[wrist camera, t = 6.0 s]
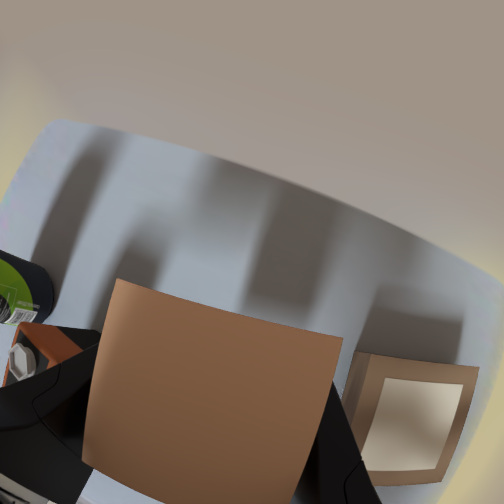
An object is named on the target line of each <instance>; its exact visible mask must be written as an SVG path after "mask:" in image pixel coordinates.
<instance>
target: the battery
mask: <svg viewBox="0 0 504 504" xmlns="http://www.w3.org/2000/svg"><path fill="white" fill-rule="evenodd" d="M100 339H101V334H100V333H99V332H97V331H96V330H88V329H78V328H69V327H61V326H53V325H46V324H39V323H32V322H26V321H22V322H20V323H19V324H18V327H17V330H16V333H15V337H14V340H13V343H12V347H11V349H10V350H9V359H8V363H7V367H6V371H5V376H4V380H3V385H2V387H4V386H7V385H9V384H12V383H15V382H17V381H20V380H23V379H25V378H28V377H30V376H33V375H35V374H38V373H40V372H42V371H44V370H46V369H48V368H50V367H53V366H54V365H56V364H58V363H62V361H64V360H66V359H68V358H70V357H72V356H74V355H76V354H78V353H80V352H82V351H84V350H86V349H87V348H89V347H91V346H93V345H95V344H97V343H99V342H100Z"/></svg>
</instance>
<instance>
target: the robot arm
mask: <svg viewBox="0 0 504 504" xmlns="http://www.w3.org/2000/svg"><path fill="white" fill-rule="evenodd" d="M99 343H100V342H99ZM99 343H97V344H95V345H93V346H91V347H89V348H87V349H86V350H84V351H82V352H80V353H78V354H76V355H74V356H72V357H70V358H68V359H66V360H64V361H62V363H58V364H56V365H54V366H53V367H50V368H48V369H46V370H44V371H42V372H40V373H38V374H35V375H33V376H30V377H28V378H25V379H23V380H20V381H17V382H15V383H12V384H9V385H7V386H4V387H1V388H0V504H47V502H48V501H49V500H50V501H52V502H55V503H57V504H76V502H77V500H78V498H79V496H80V494H81V492H82V490H83V488H84V486H85V485H86V483H87V481H88V479H89V477H90V475H91V473H92V472H93V469H94V468H93V467H91V466H89V465H88V464H86V463H84V462H83V461H82V451H83V440H84V431H85V422H86V415H87V408H88V401H89V395H90V389H91V383H92V377H93V372H94V367H95V362H96V357H97V352H98V348H99ZM289 504H382V503H381V501H380V499H379V497H378V495H377V493H376V490H375V488H374V486H373V484H372V482H371V479H370V477H369V474H368V472H367V469H366V466H365V464H364V461H363V460H362V456H361V453H360V450H359V448H358V445H357V442H356V440H355V437H354V434H353V432H352V429H351V426H350V424H349V421H348V418H347V416H346V413H345V411H344V408H343V405H342V403H341V400H340V398H339V395H338V393H337V390H336V388H335V385H334V382H333V381H332V384H331V388H330V392H329V395H328V398H327V402H326V405H325V408H324V412H323V415H322V418H321V421H320V424H319V427H318V430H317V433H316V436H315V439H314V442H313V445H312V448H311V451H310V453H309V456H308V459H307V461H306V464H305V467H304V469H303V472H302V474H301V477H300V479H299V482H298V484H297V487H296V489H295V492H294V494H293V496H292V499H291V501H290V503H289Z"/></svg>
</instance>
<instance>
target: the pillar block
mask: <svg viewBox="0 0 504 504" xmlns="http://www.w3.org/2000/svg"><path fill="white" fill-rule="evenodd" d="M342 341H343V338H341V337H336V336H331V335H326V334H321V333H317V332H312V331H307V330H303V329H298V328H294V327H289V326H285V325H281V324H276V323H272V322H268V321H264V320H260V319H256V318H252V317H248V316H244V315H240V314H236V313H232V312H228V311H225V310H221V309H217V308H213V307H210V306H206V305H203V304H199V303H196V302H192V301H189V300H185V299H182V298H178V297H175V296H172V295H168V294H165V293H162V292H158V291H155V290H152V289H149V288H146V287H143V286H139V285H136V284H133V283H130V282H127V281H124V280H121V279H118V278H117V279H116V283H115V286H114V290H113V293H112V296H111V300H110V304H109V307H108V311H107V315H106V319H105V323H104V327H103V331H102V335H101V339H100V343H99V348H98V352H97V357H96V362H95V367H94V372H93V377H92V383H91V389H90V395H89V401H88V408H87V415H86V422H85V431H84V440H83V451H82V461H83V462H84V463H86V464H88V465H89V466H91V467H93V468H94V469H96V470H98V471H99V472H101V473H103V474H105V475H106V476H108V477H110V478H112V479H114V480H115V481H117V482H119V483H121V484H123V485H125V486H127V487H129V488H131V489H133V490H135V491H137V492H140V493H142V494H144V495H146V496H148V497H151V498H153V499H155V500H158V501H160V502H163V503H165V504H289V503H290V501H291V499H292V496H293V494H294V492H295V489H296V487H297V484H298V482H299V479H300V477H301V474H302V472H303V469H304V467H305V464H306V461H307V459H308V456H309V453H310V451H311V448H312V445H313V442H314V439H315V436H316V433H317V430H318V427H319V424H320V421H321V418H322V415H323V412H324V408H325V405H326V402H327V398H328V395H329V392H330V388H331V384H332V381H333V377H334V373H335V370H336V366H337V362H338V358H339V354H340V350H341V346H342Z"/></svg>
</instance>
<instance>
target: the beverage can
mask: <svg viewBox="0 0 504 504" xmlns="http://www.w3.org/2000/svg"><path fill="white" fill-rule="evenodd" d="M52 304H53V287H52V283H51V280H50V278H49V275H48V273H47V272H46V270H45V269H44V268H42V267H41V266H39V265H36V264H34V263H31V262H29V261H26V260H24V259H21V258H19V257H16V256H14V255H11V254H9V253H7V252H4V251H2V250H0V323H2V324H9V325H15V326H18V324H19V323H20V322H22V321H26V322H32V323H39V324H42V323H43V322H44V320H45V319H46V318H47V317H48V315H49V313H50V311H51V308H52Z"/></svg>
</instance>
